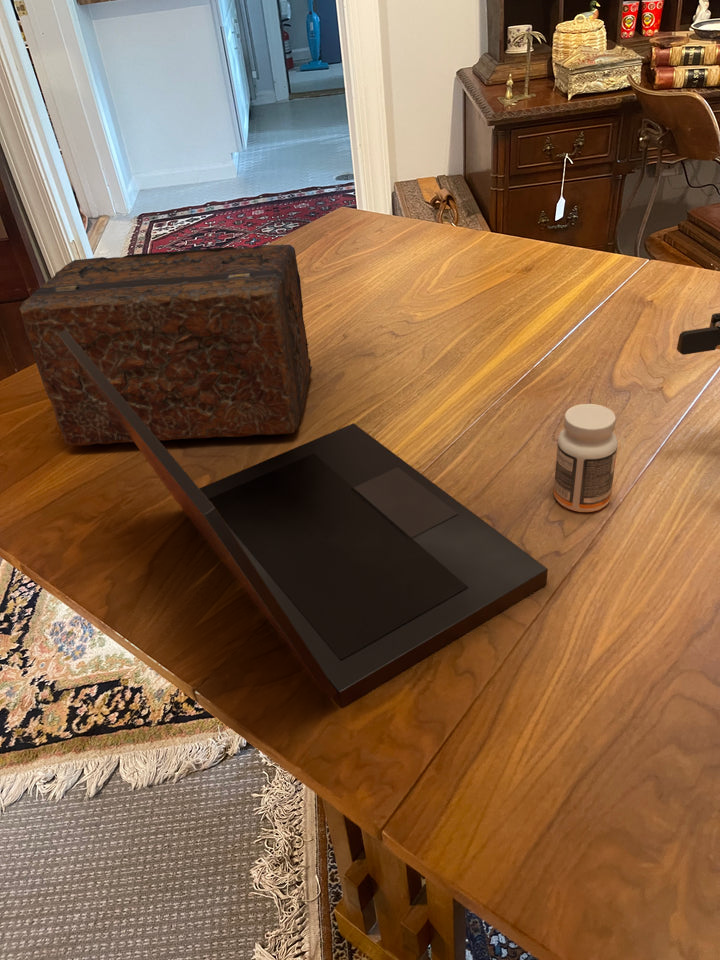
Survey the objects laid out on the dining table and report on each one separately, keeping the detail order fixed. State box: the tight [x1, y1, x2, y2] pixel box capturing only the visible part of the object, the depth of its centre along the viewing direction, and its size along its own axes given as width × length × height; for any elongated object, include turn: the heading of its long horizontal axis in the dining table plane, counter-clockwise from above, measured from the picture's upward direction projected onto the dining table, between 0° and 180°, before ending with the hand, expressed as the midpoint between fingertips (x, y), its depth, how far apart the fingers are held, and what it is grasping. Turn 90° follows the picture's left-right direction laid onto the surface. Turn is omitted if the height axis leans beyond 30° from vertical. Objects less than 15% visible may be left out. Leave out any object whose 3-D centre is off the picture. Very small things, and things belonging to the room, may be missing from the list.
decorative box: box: [19, 244, 313, 447], centre depth 91 cm, size 31×20×20 cm
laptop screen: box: [58, 330, 337, 700], centre depth 60 cm, size 22×32×1 cm
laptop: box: [198, 423, 549, 709], centre depth 72 cm, size 22×32×2 cm
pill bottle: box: [553, 403, 619, 513], centre depth 73 cm, size 6×6×10 cm
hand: (703, 363), depth 68 cm, fingers open, 8 cm apart
